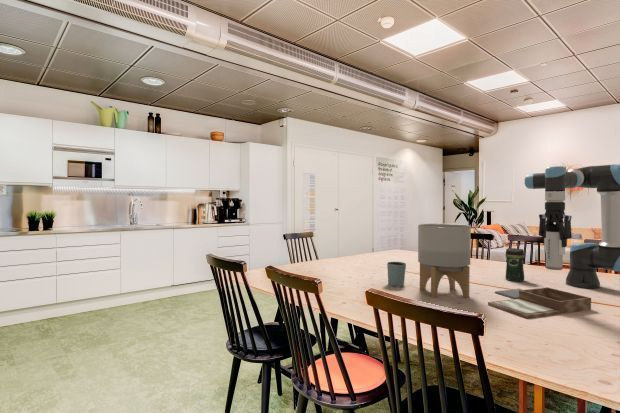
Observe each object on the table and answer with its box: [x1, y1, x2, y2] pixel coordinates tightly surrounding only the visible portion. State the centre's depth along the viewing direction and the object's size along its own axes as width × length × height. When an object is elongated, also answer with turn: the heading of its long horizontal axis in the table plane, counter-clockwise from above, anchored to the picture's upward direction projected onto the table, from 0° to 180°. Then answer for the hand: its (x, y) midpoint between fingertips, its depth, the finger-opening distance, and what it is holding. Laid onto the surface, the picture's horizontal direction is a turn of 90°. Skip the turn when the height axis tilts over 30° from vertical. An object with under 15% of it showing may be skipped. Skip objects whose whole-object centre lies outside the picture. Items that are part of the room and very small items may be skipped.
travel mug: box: [545, 223, 564, 271], centre depth 164 cm, size 6×7×20 cm
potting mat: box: [494, 288, 523, 299], centre depth 182 cm, size 16×12×1 cm
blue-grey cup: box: [386, 261, 407, 287], centre depth 203 cm, size 10×10×12 cm
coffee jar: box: [504, 247, 525, 282], centre depth 214 cm, size 10×8×19 cm
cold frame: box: [487, 286, 592, 320], centre depth 161 cm, size 36×20×5 cm, turn 109°
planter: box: [417, 223, 472, 299], centre depth 186 cm, size 25×25×34 cm
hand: (554, 253), depth 164 cm, fingers closed on travel mug, 6 cm apart
